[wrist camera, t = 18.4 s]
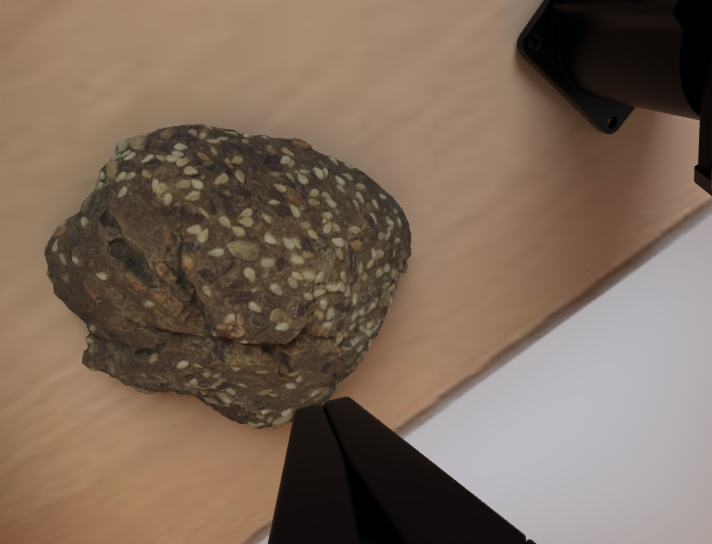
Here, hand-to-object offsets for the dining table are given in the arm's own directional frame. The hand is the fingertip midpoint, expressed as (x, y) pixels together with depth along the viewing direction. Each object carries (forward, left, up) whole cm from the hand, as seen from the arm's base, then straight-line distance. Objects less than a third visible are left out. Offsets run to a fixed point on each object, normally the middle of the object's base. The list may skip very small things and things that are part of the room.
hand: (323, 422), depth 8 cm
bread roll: (-2, +3, -13) cm, 14 cm away
